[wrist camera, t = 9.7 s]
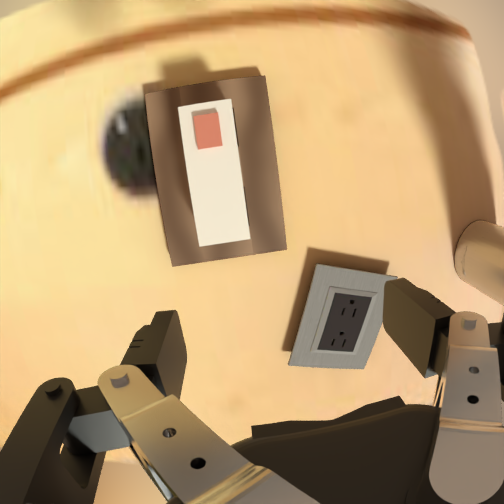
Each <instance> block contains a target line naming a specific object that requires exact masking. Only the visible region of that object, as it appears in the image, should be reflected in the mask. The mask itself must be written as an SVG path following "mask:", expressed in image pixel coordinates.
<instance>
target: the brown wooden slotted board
mask: <svg viewBox="0 0 504 504" xmlns="http://www.w3.org/2000/svg"><path fill="white" fill-rule="evenodd" d="M225 99H231V102H232V109H233V112H234V120H235V127H236V134H237V142H238V153H239V160H240V167H241V174H242V181H243V187H244V193H245V201H246V208H247V215H248V225H249V232H250V239H247V240H240V241H234V242H227V243H221V244H214V245H208V246H201V247H199V241H198V236H197V230H196V224H195V218H194V213H193V207H192V200H191V194H190V188H189V182H188V175H187V169H186V162H185V155H184V148H183V141H182V134H181V127H180V119H179V111H178V107H182V106H187V105H193V104H199V103H205V102H211V101H218V100H225ZM145 100H146V109H147V117H148V126H149V133H150V141H151V148H152V155H153V162H154V169H155V175H156V182H157V188H158V194H159V200H160V205H161V211H162V217H163V222H164V227H165V233H166V238H167V243H168V248H169V253H170V258H171V263H172V267H174V266H181V265H188V264H194V263H201V262H208V261H214V260H221V259H228V258H235V257H241V256H248V255H255V254H261V253H268V252H275V251H281V250H287V245H286V235H285V226H284V217H283V208H282V199H281V191H280V182H279V174H278V166H277V158H276V150H275V142H274V135H273V127H272V120H271V113H270V106H269V99H268V92H267V85H266V78H265V76H254V77H244V78H235V79H227V80H219V81H212V82H206V83H199V84H193V85H187V86H182V87H176V88H171V89H166V90H161V91H156V92H152V93H147V94H145Z"/></svg>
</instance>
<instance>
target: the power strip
mask: <svg viewBox="0 0 504 504" xmlns="http://www.w3.org/2000/svg"><path fill="white" fill-rule="evenodd" d="M178 111H179V119H180V127H181V134H182V141H183V148H184V155H185V162H186V169H187V175H188V182H189V188H190V194H191V200H192V207H193V213H194V218H195V224H196V230H197V236H198V241H199V247H201V246H208V245H214V244H221V243H227V242H234V241H240V240H247V239H250V232H249V225H248V218H247V210H246V203H245V196H244V189H243V181H242V174H241V167H240V160H239V153H238V145H237V138H236V131H235V124H234V116H233V109H232V102H231V99H225V100H218V101H211V102H205V103H199V104H193V105H187V106H182V107H178Z"/></svg>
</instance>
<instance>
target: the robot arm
mask: <svg viewBox="0 0 504 504" xmlns="http://www.w3.org/2000/svg"><path fill="white" fill-rule="evenodd" d="M455 268H456V272H457V274H458V276H459V277H460V279H462V280H463V281H464V282H466V283H468V284H469V285H471V286H473V287H474V288H476V289H478V290H479V291H481V292H482V293H484V294H485V295H487V296H489V297H490V298H492V299H494V300H495V301H497V302H498V303H500V304H501V305H503V306H504V227H502V226H499V225H496V224H493V223H490V222H487V221H482V220H479V221H475V222H473V223H472V224H470V225H469V226H468V227H467V228H466V229H465V230H464V232H463V233H462V235H461V237H460V239H459V241H458V244H457V247H456V252H455ZM383 325H384V328H385V331H386V332H387V333H388V335H389V336H390V337H391V338H392V339H393V341H394V342H395V343H396V344H397V345H398V346H399V348H400V349H401V350H402V351H403V352H404V354H405V355H406V356H407V357H408V359H409V360H410V361H411V362H412V363H413V365H414V366H415V367H416V368H417V369H418V371H419V372H420V373H421V374H422V376H423V377H424V378H428V377H430V376H433V375H436V374H438V375H439V376H438V380H437V384H436V389H435V394H434V399H433V404H432V406H430V405H421V404H407V405H405V403H404V402H403V400H402V399H401V397H400V396H396V397H393V398H389V399H386V400H382V401H379V402H375V403H371V404H367V405H365V406H363V407H361V408H359V409H356V410H354V411H352V412H350V413H348V414H345V415H343V416H341V417H339V418H336V419H334V420H327V421H284V422H278V423H271V424H263V425H255V426H251V428H252V437H250V438H247V439H244V440H242V441H239V442H237V443H235V444H233V445H231V446H230V445H228V444H227V443H226V442H225V441H224V440H223V439H221V438H220V437H219V436H218V435H217V434H216V433H214V432H213V431H212V430H211V429H210V428H209V427H208V426H207V425H205V424H204V423H203V422H202V421H201V420H200V419H199V418H198V417H197V416H196V415H195V414H193V413H192V412H191V411H190V410H189V409H188V408H187V407H186V406H185V405H184V404H183V403H182V402H181V401H180V395H181V390H182V384H183V379H184V374H185V368H186V363H187V351H186V345H185V341H184V337H183V333H182V329H181V324H180V320H179V316H178V313H177V311H176V310H169V311H159V312H156V313H155V316H154V318H153V320H152V322H151V324H150V325H144V326H143V327H142V328H141V329H140V330H139V331H137V332H136V334H135V336H134V338H133V340H132V342H131V344H130V346H129V348H128V350H127V352H126V354H125V356H124V358H123V360H122V362H121V364H120V365H119V366H115V367H112V368H110V369H108V370H106V371H105V372H104V373H102V374H101V376H100V377H99V379H98V385H97V386H94V387H89V388H84V389H79V390H76V389H75V387H74V384H73V382H72V381H71V380H70V379H67V378H54V379H51V380H48V381H46V382H45V383H43V384H42V385H40V386H39V387H38V389H37V390H36V392H35V393H34V395H33V396H32V398H31V400H30V401H29V403H28V405H27V406H26V408H25V409H24V411H23V413H22V415H21V416H20V418H19V420H18V421H17V423H16V425H15V427H14V428H13V430H12V432H11V434H10V435H9V437H8V439H7V441H6V443H5V444H4V446H3V448H2V450H1V452H0V504H93V503H94V498H95V493H96V490H97V486H98V482H99V477H100V474H101V470H102V466H103V462H104V458H105V454H106V451H109V450H114V449H119V448H124V447H129V449H130V450H131V452H132V453H133V454H134V456H135V457H136V459H137V460H138V462H139V463H140V465H141V466H142V467H143V469H144V470H145V471H146V473H147V474H148V476H149V477H150V479H152V481H153V483H154V484H155V485H156V487H157V488H158V490H159V491H160V492H161V493H162V495H163V496H164V498H165V499H166V501H167V502H168V503H167V504H504V426H502V411H501V409H502V408H501V399H502V400H503V401H504V314H503V318H502V322H499V323H490V324H488V323H487V320H486V319H485V318H484V317H483V316H482V315H480V314H477V313H474V312H468V311H463V312H457V313H456V312H455V311H453V310H452V309H451V308H449V307H448V306H447V305H445V304H444V303H443V302H441V301H440V300H439V299H437V298H435V296H433V295H432V294H431V293H429V292H428V291H426V290H423V289H421V288H418V287H416V286H415V285H413V284H412V283H411V282H409V281H408V280H407V279H405V278H400V279H394V280H389V281H386V282H385V285H384V300H383ZM62 442H63V444H64V446H63V448H62V451H61V453H60V448H61V445H62Z"/></svg>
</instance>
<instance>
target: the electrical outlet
mask: <svg viewBox="0 0 504 504" xmlns="http://www.w3.org/2000/svg"><path fill="white" fill-rule="evenodd" d="M397 278H398V277H397V276H391V275H385V274H379V273H373V272H367V271H361V270H354V269H348V268H342V267H336V266H330V265H324V264H318V263H316V266H315V270H314V274H313V278H312V282H311V285H310V289H309V293H308V297H307V300H306V304H305V308H304V311H303V315H302V318H301V322H300V325H299V329H298V332H297V336H296V339H295V342H294V346H293V349H292V353H291V356H290V359H289V362H288V365H289V366H302V367H318V368H339V369H364V368H365V365H366V363H367V360H368V358H369V356H370V353H371V351H372V348H373V346H374V343H375V340H376V338H377V335H378V333H379V330H380V327H381V325H382V322H383V300H384V285H385V282H386V281H389V280H394V279H397Z"/></svg>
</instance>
